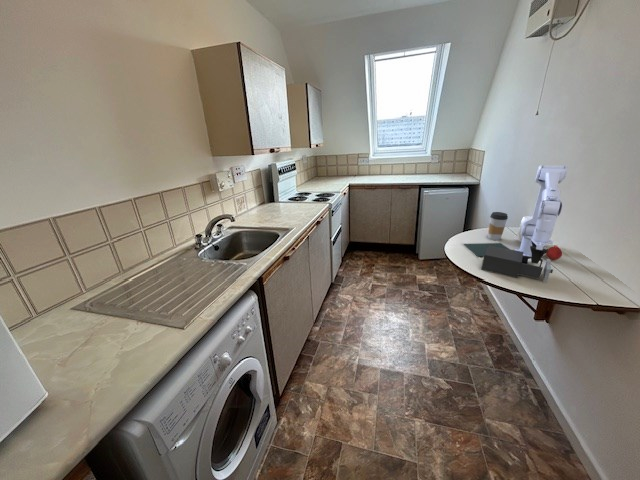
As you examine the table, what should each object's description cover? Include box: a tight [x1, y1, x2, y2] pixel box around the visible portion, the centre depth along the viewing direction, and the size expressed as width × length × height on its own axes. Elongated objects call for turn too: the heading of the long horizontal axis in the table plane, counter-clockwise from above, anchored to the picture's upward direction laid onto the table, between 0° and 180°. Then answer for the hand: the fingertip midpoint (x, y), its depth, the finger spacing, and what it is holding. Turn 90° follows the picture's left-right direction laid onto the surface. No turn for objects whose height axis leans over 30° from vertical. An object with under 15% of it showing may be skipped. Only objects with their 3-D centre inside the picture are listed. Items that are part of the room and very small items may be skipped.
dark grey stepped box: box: [481, 246, 523, 279], centre depth 121 cm, size 14×13×8 cm
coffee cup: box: [487, 211, 509, 241], centre depth 152 cm, size 8×8×15 cm
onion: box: [545, 244, 563, 262], centre depth 126 cm, size 6×6×8 cm
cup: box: [516, 215, 536, 243], centre depth 145 cm, size 8×8×14 cm
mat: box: [463, 242, 510, 258], centre depth 141 cm, size 20×16×1 cm
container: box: [527, 258, 541, 267], centre depth 115 cm, size 4×4×5 cm
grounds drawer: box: [518, 255, 554, 283], centre depth 115 cm, size 14×11×6 cm
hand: (534, 259), depth 113 cm, fingers open, 7 cm apart
